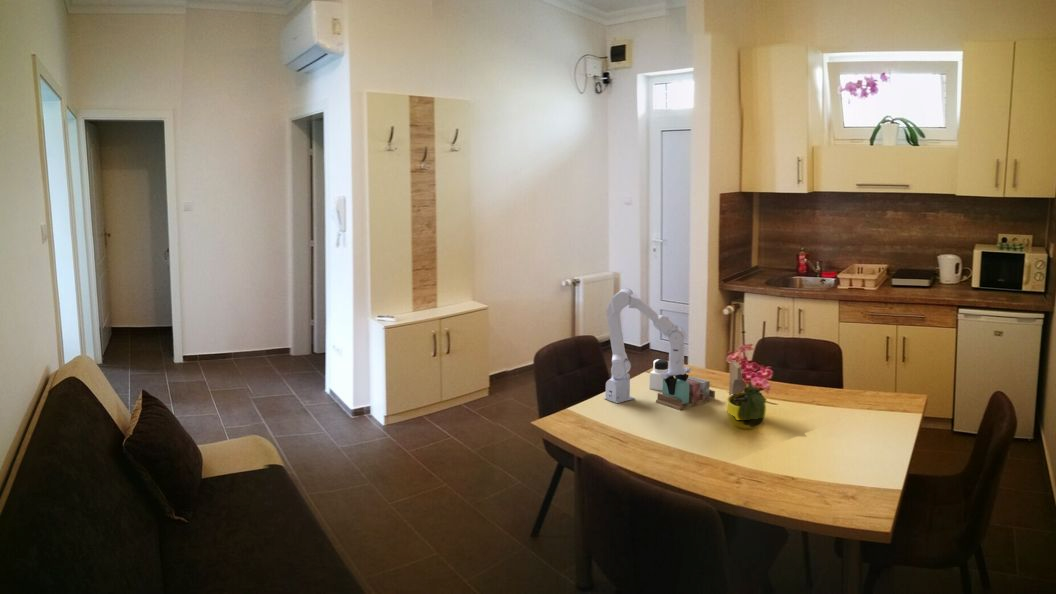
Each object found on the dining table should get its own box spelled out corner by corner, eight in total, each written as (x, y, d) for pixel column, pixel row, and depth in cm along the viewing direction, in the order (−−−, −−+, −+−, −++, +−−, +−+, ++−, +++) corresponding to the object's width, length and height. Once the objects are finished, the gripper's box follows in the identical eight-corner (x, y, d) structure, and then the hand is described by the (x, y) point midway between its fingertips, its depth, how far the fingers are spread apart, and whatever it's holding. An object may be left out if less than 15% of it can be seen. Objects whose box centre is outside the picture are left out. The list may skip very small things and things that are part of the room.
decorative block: (751, 421, 258) (753, 367, 255) (735, 420, 259) (737, 367, 255) (743, 411, 269) (745, 359, 266) (728, 410, 270) (730, 359, 266)
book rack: (679, 410, 271) (680, 389, 269) (655, 402, 280) (656, 382, 279) (714, 399, 283) (715, 380, 282) (691, 392, 293) (691, 373, 291)
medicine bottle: (671, 387, 300) (672, 359, 298) (665, 391, 294) (665, 363, 292) (655, 384, 304) (656, 357, 302) (648, 388, 298) (649, 361, 296)
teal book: (681, 404, 273) (682, 384, 271) (662, 398, 281) (662, 378, 279) (688, 402, 275) (689, 382, 274) (669, 396, 283) (669, 376, 282)
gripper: (671, 364, 268) (670, 399, 270) (697, 358, 276) (695, 392, 279) (657, 360, 273) (656, 394, 275) (682, 354, 282) (681, 387, 284)
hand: (675, 393), depth 277 cm, fingers closed on teal book, 4 cm apart
